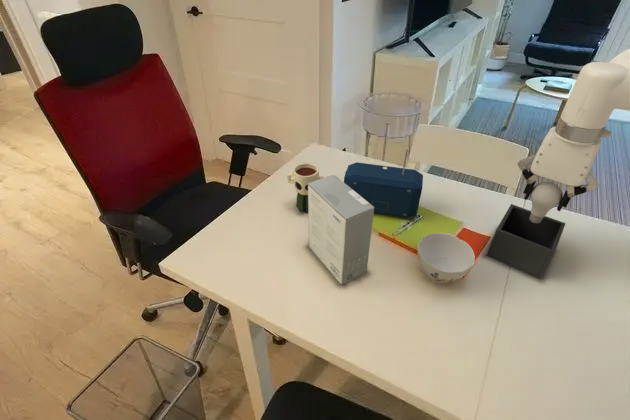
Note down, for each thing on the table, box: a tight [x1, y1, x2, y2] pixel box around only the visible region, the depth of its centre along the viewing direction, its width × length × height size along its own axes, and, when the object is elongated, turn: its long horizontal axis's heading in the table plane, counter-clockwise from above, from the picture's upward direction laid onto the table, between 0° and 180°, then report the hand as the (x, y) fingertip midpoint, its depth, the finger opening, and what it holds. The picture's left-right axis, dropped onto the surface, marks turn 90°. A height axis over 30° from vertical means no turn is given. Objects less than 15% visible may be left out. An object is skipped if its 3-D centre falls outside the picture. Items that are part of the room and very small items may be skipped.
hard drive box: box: [307, 174, 375, 285], centre depth 87 cm, size 16×8×20 cm, turn 32°
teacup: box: [416, 231, 476, 284], centre depth 87 cm, size 15×12×8 cm
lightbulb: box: [529, 181, 564, 223], centre depth 85 cm, size 6×6×11 cm
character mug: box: [286, 162, 326, 213], centre depth 105 cm, size 11×7×13 cm, turn 78°
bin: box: [485, 203, 566, 280], centre depth 92 cm, size 13×13×9 cm
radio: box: [343, 149, 424, 219], centre depth 103 cm, size 21×9×20 cm, turn 76°
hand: (543, 201), depth 84 cm, fingers closed on lightbulb, 6 cm apart
